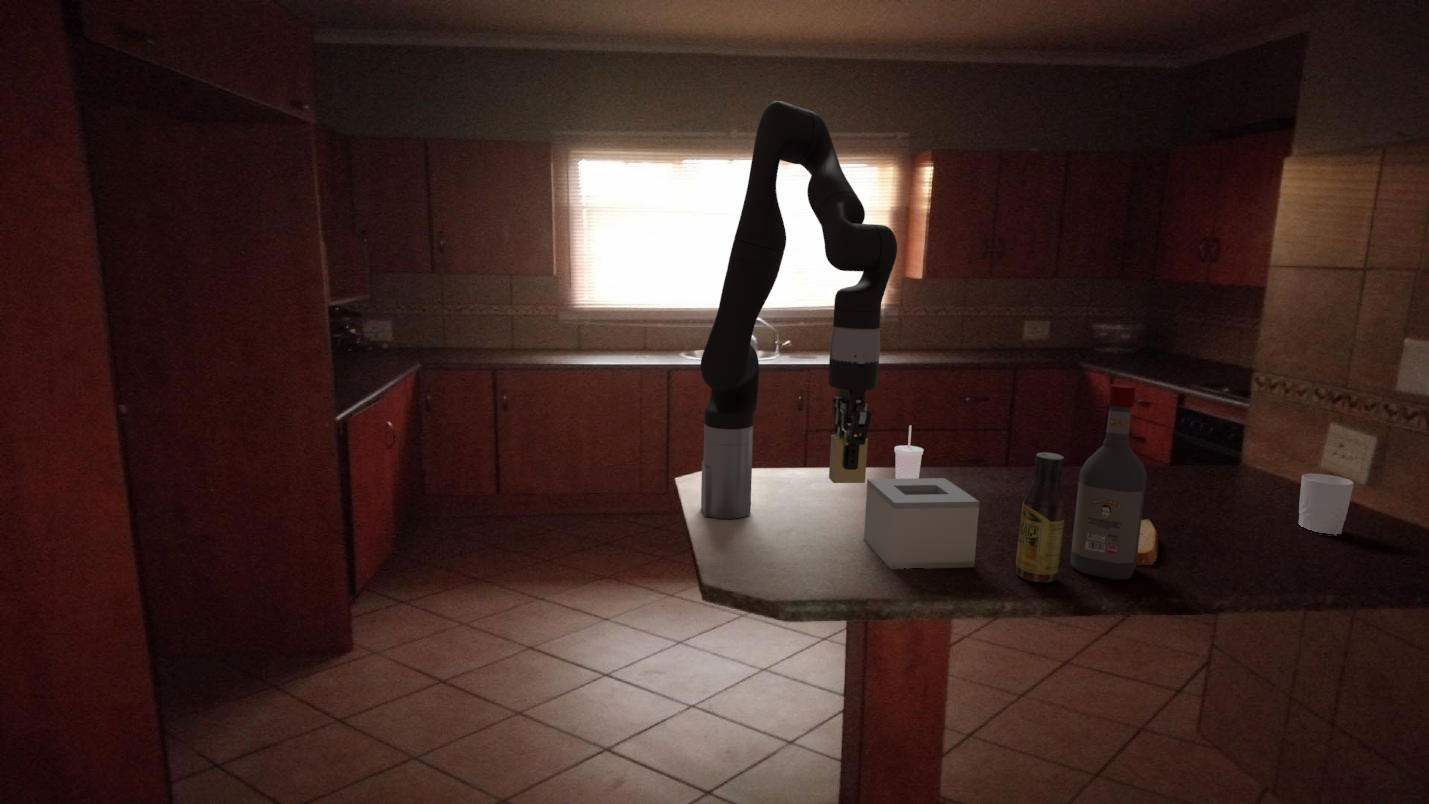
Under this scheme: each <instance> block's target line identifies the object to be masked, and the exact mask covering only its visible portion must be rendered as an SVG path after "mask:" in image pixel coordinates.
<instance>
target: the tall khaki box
mask: <svg viewBox="0 0 1429 804" xmlns="http://www.w3.org/2000/svg"><path fill="white" fill-rule="evenodd" d="M830 435H831V437H830V451H829V452H830V453H829V469H828V470H829V473H828V478H829V479H828V480H830V481H831V482H832V483H833V484H866V473H867V472H866V471H867V458H868V457H867V456H868V446H869V445H868V444H869V443H868V442H869V439H868V438H867V437H866V442H865V445H861V446H859V458H858V468H857V469H855V470H846V469H845V468H844V467H843V460H844V435H837V434H830ZM854 437H857V434H854Z"/></svg>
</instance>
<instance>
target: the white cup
mask: <svg viewBox="0 0 1429 804" xmlns="http://www.w3.org/2000/svg"><path fill="white" fill-rule="evenodd" d="M1353 489H1354V481H1352V480H1351V479H1348V478H1346V477H1345V478H1344V477H1341V476H1336V475H1332V474H1325V473H1324V474H1323V473H1304V474H1302V475H1301V483H1300V491H1299V493H1300V494H1299V503H1298V508H1299V509H1298V514H1299V515H1298V524H1299V525H1300V526H1301V527H1304V528H1306V529H1308V530H1312V531H1314V532H1319V533H1327V534H1334V535H1333V536H1338V535H1337V534H1340V535H1342V532H1343V528H1344V527H1343V526H1344V523H1345V521H1346V519H1347V515H1348V510H1349V509H1348V508H1349V506H1350V504H1351V503H1350V501H1351V497H1352V493H1353Z"/></svg>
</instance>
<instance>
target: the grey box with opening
mask: <svg viewBox="0 0 1429 804" xmlns="http://www.w3.org/2000/svg"><path fill="white" fill-rule="evenodd" d="M866 483H867V484H866V497H865V498H866V500H865V515H864V517H865V518H864V534H863V540H864V542H865V543H866V544H867V545H868V546H869V547H870V548H871V549H872V550H873V551H874V553H875V554H876V555H877V556H878V557H879V558H880V560H881V561H882V562H884V564H885V566H887V567H888V568H889V570H912V569H911V568H924V569H953V568H955V569H956V568H975V560H976V547H977V536H978V523H979V511H980V501H979V500H978V499H976V498H975V497H974V496H972V495H971V494H969V493H967V492H966V490H965V491H964V490H963V489H961V488H960V487H959V486H957V485H956V484H954V483H952V481H949V480H948V479H946V478H945V477H938V478H937V477H934V478H933V477H932V478H931V477H930V478H929V477H926V478H925V477H923V478H920V477H919V478H918V479H896V478H867V481H866ZM898 568H899V569H898ZM904 568H906V569H904ZM909 568H910V569H909Z"/></svg>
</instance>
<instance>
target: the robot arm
mask: <svg viewBox="0 0 1429 804" xmlns="http://www.w3.org/2000/svg"><path fill="white" fill-rule="evenodd" d="M753 146H754V147H753V153H752V156H751V157H752V158H751V163H750V171H749V177H748V182H747V186H746V187H747V188H746V191H745V197H744V199H743V205H742V210H741V212H740V218H739V220H738V225H737V227H736V228H737V229H736V232H735V235H734V238H733V241H732V246H731V250H730V255H729V258H728V264H727V269H726V273H725V276H724V281H723V284H722V291H721V295H720V300H719V304H718V309H717V313H716V316H715V319H714V322H713V325H712V328H711V331H710V334H709V337H708V339H707V342H706V344H705V346H704V350H703V353H702V355H701V359H700V373H701V377H702V379H703V380H704V382H705V383H706V385H707V386H708V387H709V388H710V389H711V391H710V398H709V400H708V401H709V402H708V404H707V406H706V408H705V411H704V428H703V429H704V430H703V435H704V436H703V460H701V489H700V490H701V496H700V499H701V501H700V506H701V507H700V508H701V511H702V513H703V516H704V517H706V518H708V517H709V518H715V519H721V520H722V519H723V520H724V519H725V520H731V519H732V520H734V519H741V518H745V517H747V516H749V515H750V514H751V506H752V477H753V476H752V475H753V474H752V470H753V469H752V468H753V443H754V441H753V440H754V436H753V435H754V418H755V417H754V416H755V413H756V409H757V405H758V404H757V403H758V392H759V375H760V374H759V373H760V369H759V367H760V362H759V357H758V353H757V351H756V350H755V348H754V346H753V345H752V344H751V342H752V337H753V333H754V329H755V326H756V323H757V320H758V317H759V314H760V313H761V310H762V309H763V307H764V305H765V303H766V301H767V299H768V298H769V295H770V293H771V291H772V289H773V288H774V285H775V283H776V281H777V278H778V275H779V272H780V268H781V264H782V261H783V257H784V253H785V250H786V246H787V245H786V244H787V232H786V226H785V224H784V222H785V221H784V218H783V215H782V211H781V208H780V205H779V204H780V203H779V200H778V194H777V180H778V170H779V166H780V161H782V162H786V163H790V164H793V165H801V166H802V167H803V168H804V169H805V170H806V171H807V172H808V173H809V174H810V175H811V176H810V178H809V182H808V184H807V200H808V203H809V206H810V208H811V210H812V212H813V214H814V215H815V217H816V219H817V221H818V222H819V224H820V226H821V230H822V235H823V236H822V237H823V242H824V252H825V257H826V260H827V262H828V263H829V264H830V265H831V267H832V266H833V268H835V269H836V270H838V271H843V272H862V274H861V277H860V279H859V281H858V282H857V284H855V285H852V286H847V287H843V288H841V289H838V290H837V291H836V293H835V296H834V304H833V308H834V309H833V319H832V320H833V322H832V323H833V325H832V330H831V331H832V333H831V337H830V342H829V344H830V345H829V363H828V377H827V378H828V379H827V382H828V386H829V387H831V388H834V389H836V390H837V389H838V396H833V397H832V400H831V401H832V409H833V411H832V412H833V415H832V416H833V431H834V433H835V434H836V435H844V460H843V467H844V468H845V469H846V470H855V469H857V468H858V458H859V446H861V445H865V442H866V438H867V436H868V431H869V428H870V424H871V420H872V411H870V410H869V411H868V402H867V401H866V392H867V391H872V390H875V389H876V388H877V387H878V379H879V366H880V364H879V363H880V355H881V354H880V353H881V351H880V350H881V336H880V335H881V334H880V325H881V311H882V303H883V302H882V301H883V297H884V295H885V292H886V289H887V286H888V283H889V279H890V277H891V273H892V271H893V268H894V265H895V263H896V259H897V255H898V242H897V238H896V235H895V233H894V231H893V230H892V229H891V228H890V227H889V226H887V225H884V224H875V223H874V224H873V223H871V224H870V223H869V224H867V223H864V222H865V218H866V212H865V208H864V205H863V203H862V201H861V199H860V198H859V196H858V195H857V193H856V192H855V190H854V188H853V187H852V185H851V184H850V182H849V181H848V178H847V177H846V175H845V173H844V171H843V169H842V167H841V164H840V162H839V159H838V155H837V152H836V148H835V146H834V144H833V140H832V138H831V135H830V132H829V129H828V126H827V125H826V123H825V121H824V118H822V117H821V115H820V114H818V113H816V112H815V111H812V110H810V109H807V108H802V107H800V106H797V105H794V104H791V103H788V102H785V101H780V100H774V101H772V102H771V103H769V104H768V105H767V106H766V108H765V109H764V111H763V112H762V115H761V117H760V120H759V124H758V127H757V130H756V135H755V140H754V145H753ZM854 435H857V437H854Z"/></svg>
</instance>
